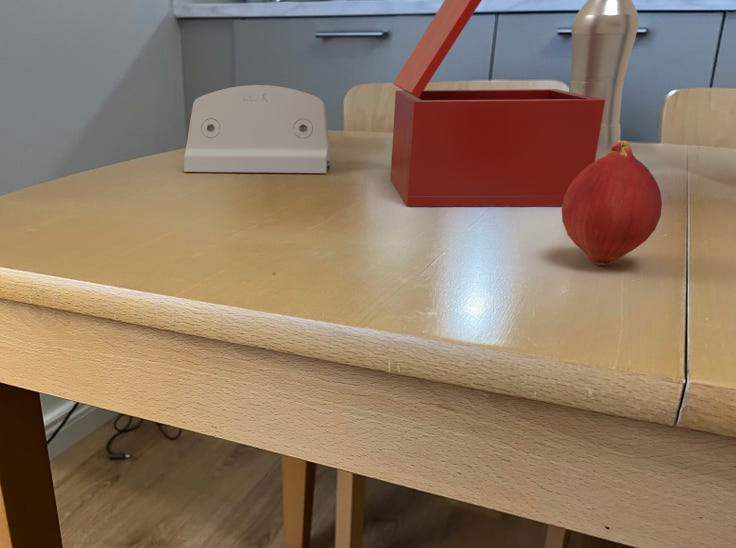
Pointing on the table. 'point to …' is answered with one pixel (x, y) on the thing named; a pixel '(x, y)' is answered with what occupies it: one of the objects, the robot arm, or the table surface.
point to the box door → (435, 45)
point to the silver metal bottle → (603, 59)
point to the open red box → (492, 146)
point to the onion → (612, 206)
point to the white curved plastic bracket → (258, 132)
